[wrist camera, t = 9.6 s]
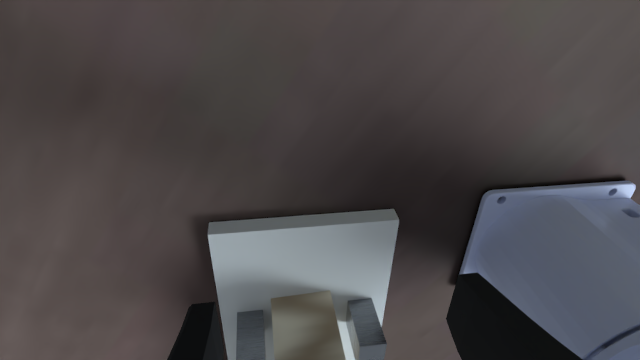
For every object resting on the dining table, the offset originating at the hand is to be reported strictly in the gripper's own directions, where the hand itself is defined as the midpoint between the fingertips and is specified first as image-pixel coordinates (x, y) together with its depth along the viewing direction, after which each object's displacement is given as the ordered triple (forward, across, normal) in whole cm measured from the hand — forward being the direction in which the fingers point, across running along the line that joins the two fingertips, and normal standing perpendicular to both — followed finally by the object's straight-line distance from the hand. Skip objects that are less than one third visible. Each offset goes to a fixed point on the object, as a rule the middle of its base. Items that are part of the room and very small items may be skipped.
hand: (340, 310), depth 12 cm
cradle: (+9, 0, +16) cm, 18 cm away
